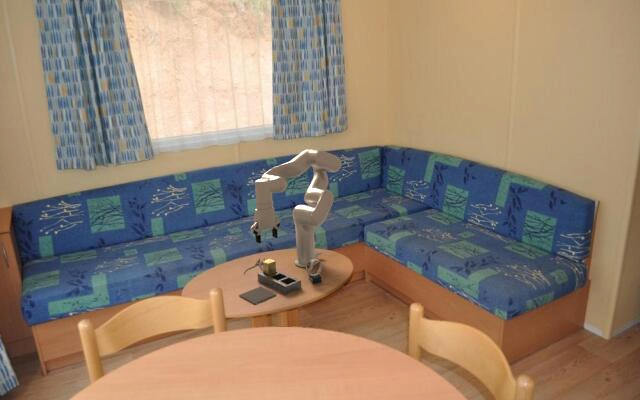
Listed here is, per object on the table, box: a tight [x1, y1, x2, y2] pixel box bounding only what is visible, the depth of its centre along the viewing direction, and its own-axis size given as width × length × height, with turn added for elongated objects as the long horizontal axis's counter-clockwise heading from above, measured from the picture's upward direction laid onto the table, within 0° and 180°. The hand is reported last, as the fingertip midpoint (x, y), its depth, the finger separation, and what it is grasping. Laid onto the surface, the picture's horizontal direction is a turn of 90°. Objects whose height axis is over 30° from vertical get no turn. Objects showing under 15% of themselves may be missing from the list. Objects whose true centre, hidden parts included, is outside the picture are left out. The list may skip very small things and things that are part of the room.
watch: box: [305, 258, 324, 285], centre depth 228 cm, size 6×8×11 cm
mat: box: [239, 286, 277, 305], centre depth 218 cm, size 12×12×1 cm
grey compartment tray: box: [257, 268, 302, 295], centre depth 228 cm, size 22×9×4 cm, turn 43°
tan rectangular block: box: [262, 258, 277, 276], centre depth 232 cm, size 4×4×10 cm
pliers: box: [243, 258, 266, 275], centre depth 249 cm, size 10×1×20 cm
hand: (266, 239), depth 227 cm, fingers open, 9 cm apart
